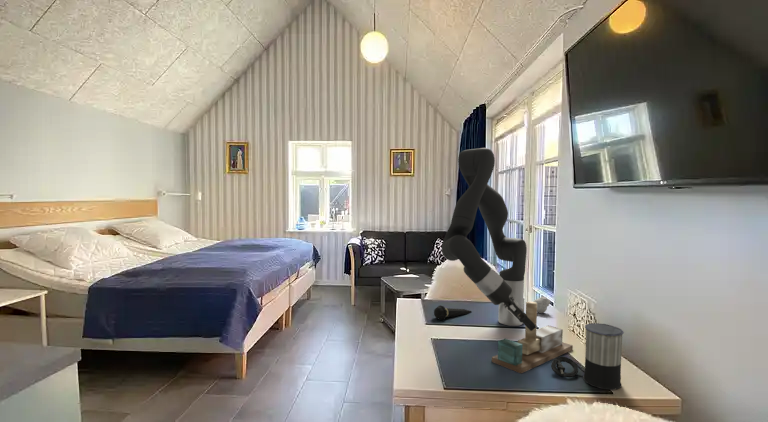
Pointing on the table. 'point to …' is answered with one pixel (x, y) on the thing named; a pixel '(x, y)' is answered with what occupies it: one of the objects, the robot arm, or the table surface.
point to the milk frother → (598, 357)
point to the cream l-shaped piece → (530, 340)
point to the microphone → (448, 312)
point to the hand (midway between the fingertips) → (530, 324)
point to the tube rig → (520, 362)
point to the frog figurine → (542, 304)
